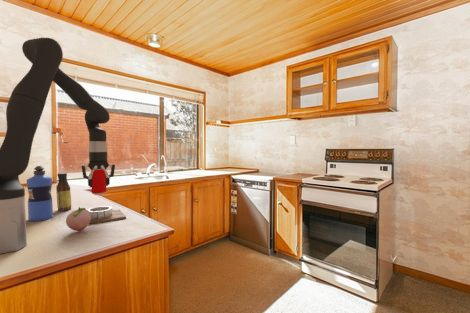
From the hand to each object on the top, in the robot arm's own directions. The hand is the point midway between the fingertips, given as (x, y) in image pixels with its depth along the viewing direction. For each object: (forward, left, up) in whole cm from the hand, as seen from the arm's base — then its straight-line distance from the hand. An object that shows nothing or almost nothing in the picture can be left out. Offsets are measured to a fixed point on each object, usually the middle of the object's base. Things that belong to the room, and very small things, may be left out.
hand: (99, 186), depth 113 cm
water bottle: (+16, +23, -16) cm, 32 cm away
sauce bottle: (+29, +14, -16) cm, 36 cm away
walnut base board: (0, 0, -15) cm, 15 cm away
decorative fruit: (-16, +9, -16) cm, 24 cm away
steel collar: (0, 0, -15) cm, 15 cm away
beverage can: (0, 0, -4) cm, 4 cm away
